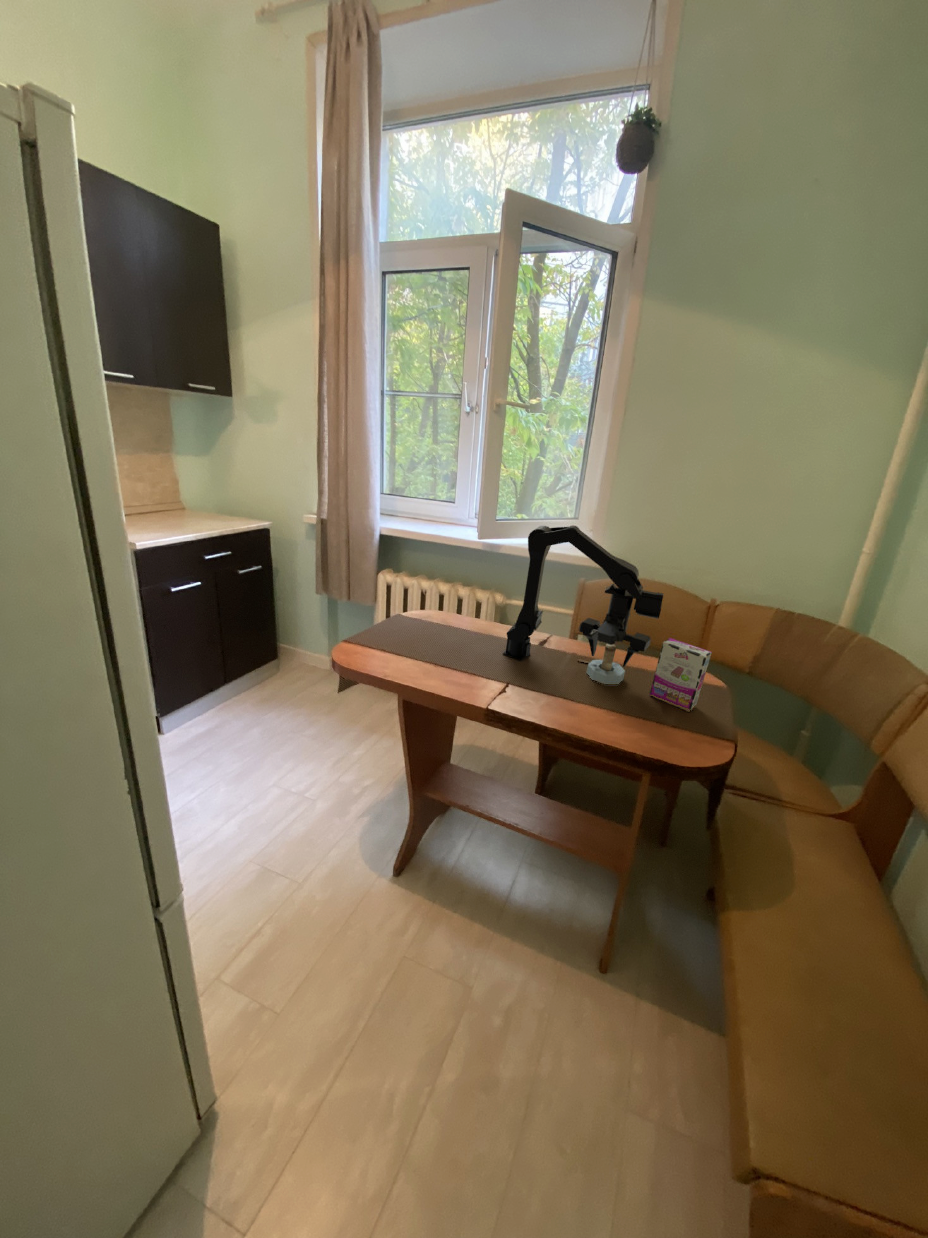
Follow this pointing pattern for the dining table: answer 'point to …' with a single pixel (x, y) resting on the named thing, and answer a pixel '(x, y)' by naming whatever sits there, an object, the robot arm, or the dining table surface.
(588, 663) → the brown wooden stick
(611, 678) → the bead
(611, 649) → the beige wooden cylinder
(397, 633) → the dining table surface
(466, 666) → the dining table surface
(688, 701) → the candy bar box
